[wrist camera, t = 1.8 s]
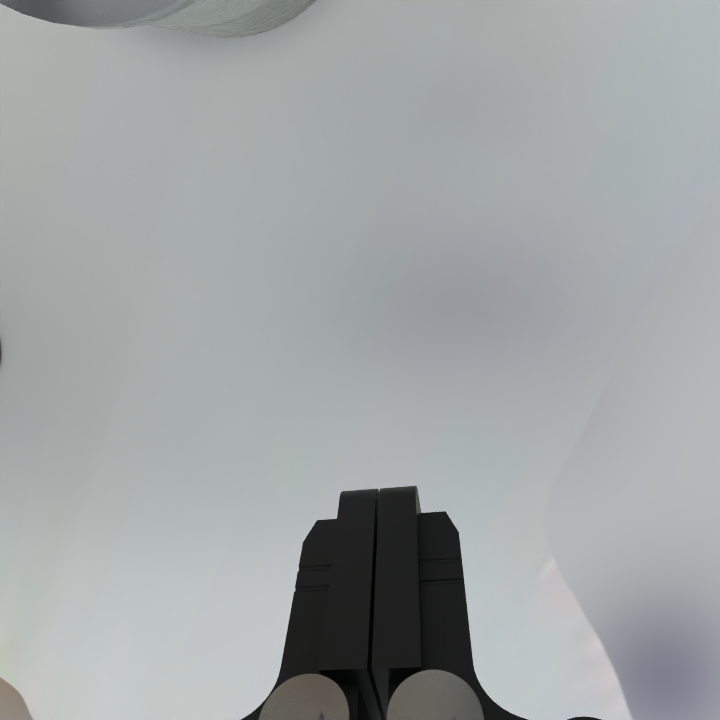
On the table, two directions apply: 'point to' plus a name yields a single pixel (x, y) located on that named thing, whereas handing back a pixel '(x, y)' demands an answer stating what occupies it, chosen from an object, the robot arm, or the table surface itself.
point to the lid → (99, 11)
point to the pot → (234, 16)
